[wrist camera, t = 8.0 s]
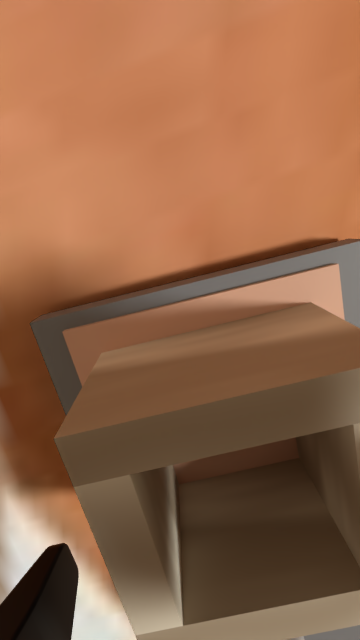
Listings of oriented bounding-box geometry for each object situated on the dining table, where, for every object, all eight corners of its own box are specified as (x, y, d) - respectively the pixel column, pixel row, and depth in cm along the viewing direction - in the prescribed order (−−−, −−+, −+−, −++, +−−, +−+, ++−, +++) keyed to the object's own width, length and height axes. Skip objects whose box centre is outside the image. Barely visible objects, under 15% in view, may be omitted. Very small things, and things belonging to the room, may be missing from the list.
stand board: (386, 630, 16) (496, 837, 11) (177, 671, 17) (180, 889, 11) (348, 238, 11) (530, 249, 5) (41, 315, 11) (-82, 397, 6)
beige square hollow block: (334, 476, 12) (423, 612, 8) (156, 515, 13) (148, 666, 8) (311, 302, 10) (410, 355, 6) (101, 353, 11) (53, 438, 6)
